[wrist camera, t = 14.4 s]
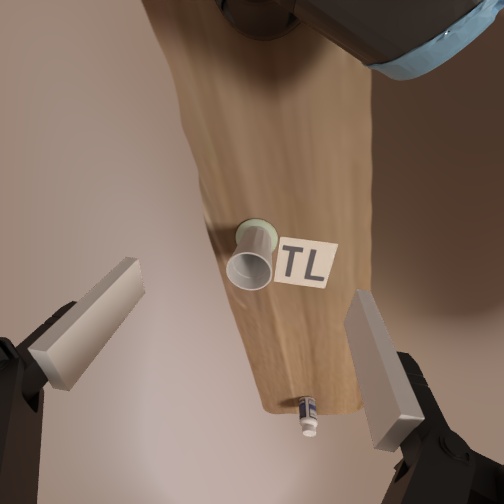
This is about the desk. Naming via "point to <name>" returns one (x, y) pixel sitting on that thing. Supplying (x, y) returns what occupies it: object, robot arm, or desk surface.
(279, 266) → the tile
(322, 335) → the desk surface
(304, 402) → the pill bottle
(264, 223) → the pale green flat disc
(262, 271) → the cup
